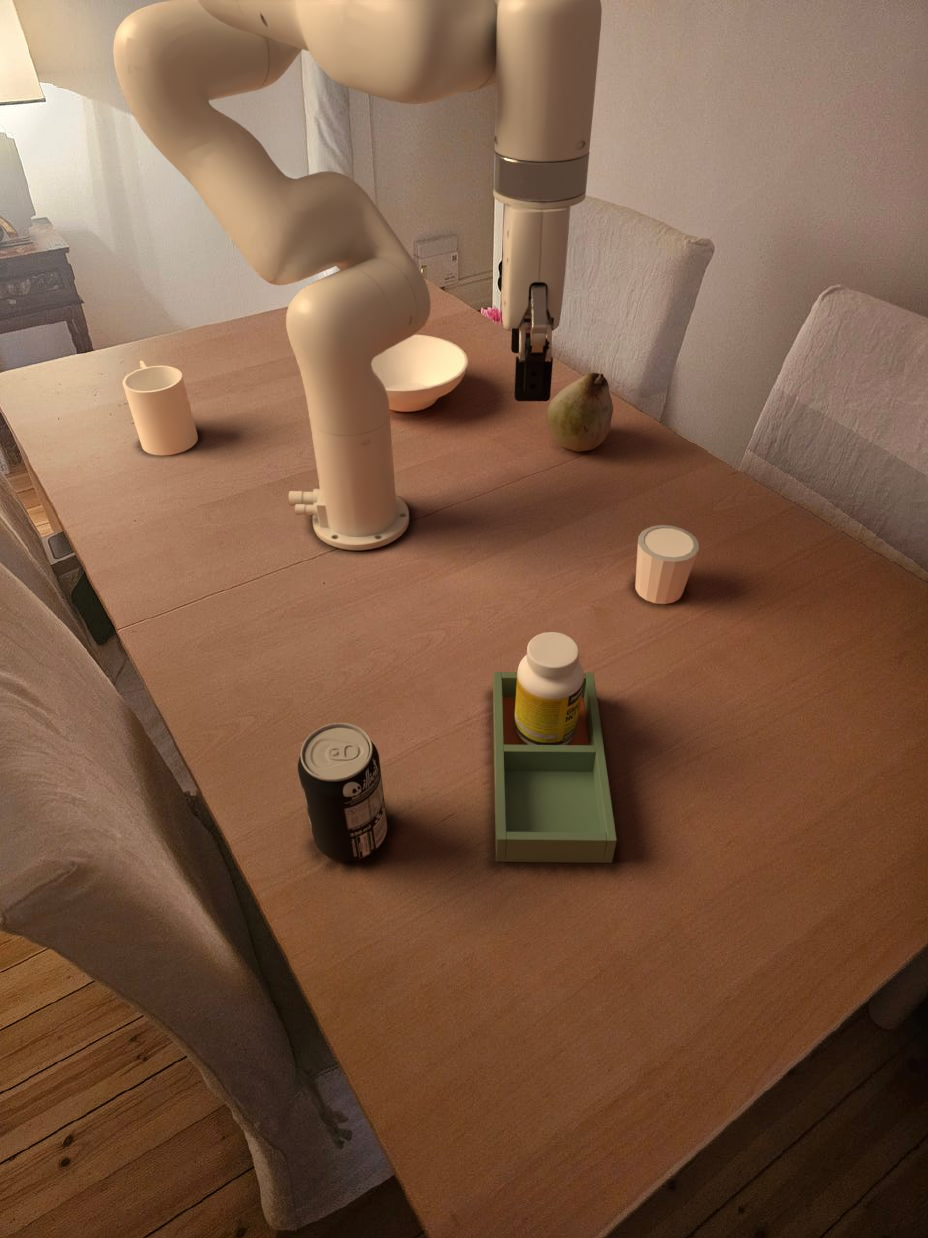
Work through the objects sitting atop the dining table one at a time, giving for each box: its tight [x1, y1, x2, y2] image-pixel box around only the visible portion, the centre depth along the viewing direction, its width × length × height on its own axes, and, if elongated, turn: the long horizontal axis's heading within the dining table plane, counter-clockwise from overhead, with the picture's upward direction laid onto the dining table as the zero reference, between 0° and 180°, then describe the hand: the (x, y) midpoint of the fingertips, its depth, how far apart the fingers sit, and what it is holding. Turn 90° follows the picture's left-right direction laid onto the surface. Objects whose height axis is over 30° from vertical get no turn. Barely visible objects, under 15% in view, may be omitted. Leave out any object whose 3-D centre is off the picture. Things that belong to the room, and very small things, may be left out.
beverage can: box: [297, 722, 388, 863], centre depth 70 cm, size 7×7×12 cm
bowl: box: [372, 334, 469, 413], centre depth 130 cm, size 20×20×7 cm
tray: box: [492, 671, 618, 864], centre depth 77 cm, size 10×19×4 cm, turn 179°
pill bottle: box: [514, 631, 585, 745], centre depth 78 cm, size 6×6×11 cm
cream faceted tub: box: [634, 524, 700, 605], centre depth 96 cm, size 7×7×7 cm
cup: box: [121, 360, 199, 456], centre depth 121 cm, size 8×12×10 cm
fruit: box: [546, 372, 614, 453], centre depth 118 cm, size 10×9×12 cm
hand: (529, 374), depth 78 cm, fingers open, 9 cm apart
